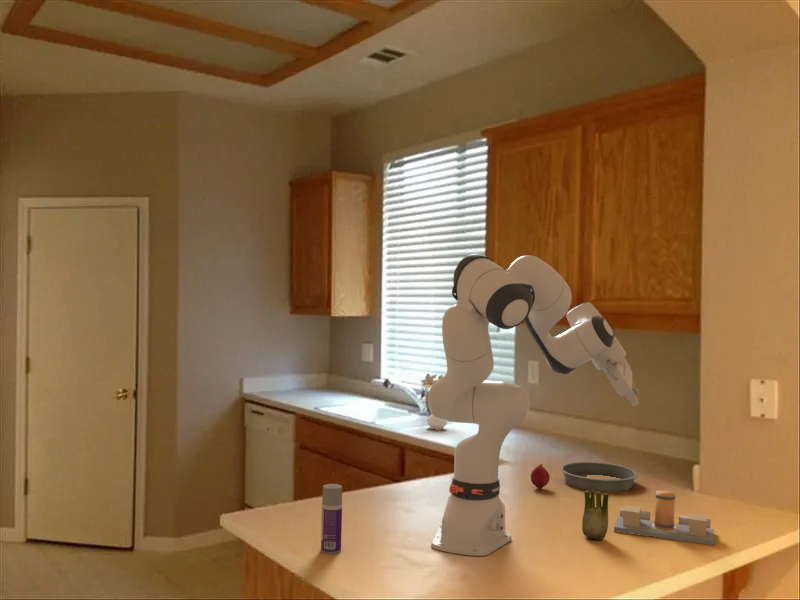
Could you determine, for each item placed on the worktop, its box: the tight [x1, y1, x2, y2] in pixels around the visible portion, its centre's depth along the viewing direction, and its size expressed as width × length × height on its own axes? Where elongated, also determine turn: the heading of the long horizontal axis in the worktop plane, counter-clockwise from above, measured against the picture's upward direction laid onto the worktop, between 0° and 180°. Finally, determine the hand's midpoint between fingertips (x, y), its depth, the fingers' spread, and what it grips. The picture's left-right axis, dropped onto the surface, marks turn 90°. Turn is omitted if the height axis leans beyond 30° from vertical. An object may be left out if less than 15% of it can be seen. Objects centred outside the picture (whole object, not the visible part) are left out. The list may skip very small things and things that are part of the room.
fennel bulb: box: [581, 490, 610, 541], centre depth 182 cm, size 6×5×12 cm
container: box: [320, 483, 343, 555], centre depth 169 cm, size 5×5×15 cm
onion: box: [530, 463, 551, 490], centre depth 229 cm, size 6×6×8 cm
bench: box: [613, 504, 716, 546], centre depth 188 cm, size 10×24×5 cm, turn 68°
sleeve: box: [654, 489, 676, 530], centre depth 188 cm, size 5×5×9 cm
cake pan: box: [560, 461, 639, 492], centre depth 239 cm, size 25×25×4 cm
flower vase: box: [421, 373, 448, 431], centre depth 332 cm, size 13×18×25 cm
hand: (636, 399), depth 197 cm, fingers open, 8 cm apart
